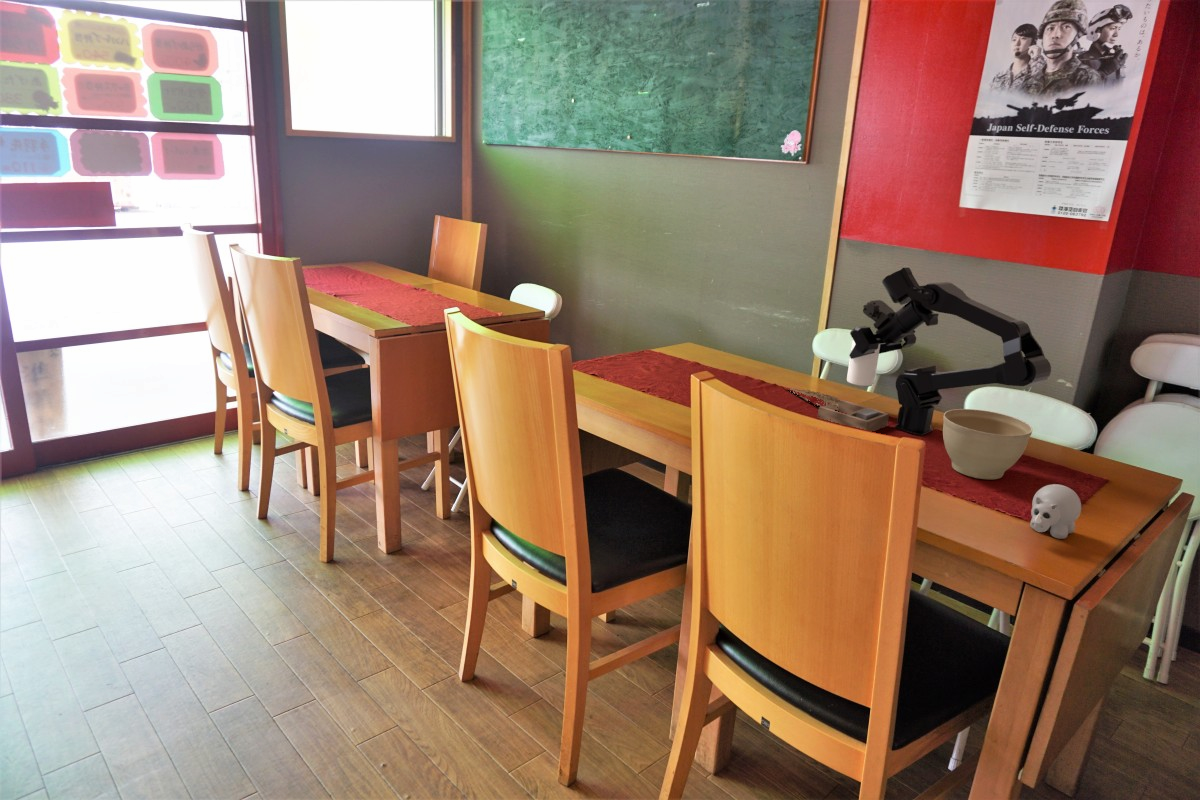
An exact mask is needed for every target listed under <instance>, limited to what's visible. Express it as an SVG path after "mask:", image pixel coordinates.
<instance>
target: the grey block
mask: <svg viewBox="0 0 1200 800" xmlns="http://www.w3.org/2000/svg"><path fill="white" fill-rule="evenodd" d="M872 409H873V408H871V409H867V410H863V411H860V412H857V414H856V417H857V418H861V419H864V420H869V419H872V418H875V417H877V416H879V412H878V411H879V410H878V411H875V410H876V409H875V410H872Z"/></svg>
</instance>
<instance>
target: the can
mask: <svg viewBox="0 0 1200 800" xmlns="http://www.w3.org/2000/svg"><path fill="white" fill-rule="evenodd" d="M855 345H856V343H855V342H854V340H853V339H852V343H851V349H850V352H851V351H852V350H853V348H854V346H855ZM879 350H880V344H879V345H878V349H877V350H875V351H874V352H875V353H873V354H869V355H865V356H861V357H857V358H853V359H851V358H850V357H849V360H848V362H849V363H848V367H847V368H848V369H847V375H846V381H847V383H849V384H850V385H853V386H857V387H864V388H865V387H872V386H873V385H874V384H875V379H876V374H877V367H878V361H879V355H880V354H879Z"/></svg>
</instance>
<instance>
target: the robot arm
mask: <svg viewBox="0 0 1200 800" xmlns="http://www.w3.org/2000/svg"><path fill="white" fill-rule="evenodd" d="M881 283H882V286H883V287H884V289H885V290H886V292H887V294H888V295H889V298H890V299H891V301H892V302H893V303H894V304H900V305H901V306H902V307H901V308H899V309H898V310H897V311H896V312H895V311H894V309H893V308H892V307H890V306H889V305H888V304H887V303H885V301H883V300H880V299H878V300H877V299H876V300H870V301H868V302H866V304H864V305H863V309H862V313H863V314H864V315H865V316H867V318H870V319H871V320H872V321H874V323H873V327H874V328H875V329H876V330H875V331H874V332H875V333H873V331H872V329H871V327H870V326H865V325H864V326H856V327H854V328H853V329H852V330H851V331H850V334H849V335H850V336H851V338H852V341H853V340H854V342H855V343H856V345H855V346H854V348H853V350H852V351H851V350H850V353H849V359H850V358H851V359H853V358H857V357H861V356H865V355H869V354H873V353H875V352H874V351H875V350H877V349H878V345H879V344H880V350H879V355H881V354H883V353H884V354H885V353H888V352H889V353H890V352H893V351H898V350H902V349H906V348H911V347H913V345H915V344H916V341H917V337H916V334H915V333H916V331H915V330H916V329H917V328H919V327H920V326H921V325H923V324H925V325H926V327H930V326H937V325H938V324H939V315H940V314H939V313H943V314H947V315H953V316H956V317H957V318H960V319H962V320H964V321H967V322H969V323H971V324H973V325H975V326H978V327H979V328H982V329H983V330H986V331H988V332H990V333H992V334H995V335H996V336H999V338H1001V341H1002V349H1003V350H1002V351H1003V360H1004V361H1003V362H1001V363H999V364H996V365H989V366H982V367H980V366H979V367H974V368H973V367H972V368H967V369H959V370H950V371H937V365H932V366H931V365H930V366H925V367H923V366H921V367H920V366H919V367H914V368H909V369H905V370H904V372H903V373H900V374H899V375H897V378H896V380H895V388H896V393H897V401H898V405H901V406H900V407H899V409H898V415H897V419H896V425H894V428H895V429H896V430H897V429H898V430H900V431H904V432H907V433H908V434H909V433H910V434H913V433H915V434H914V435H916V434H917V435H916V436H924V435H926V434H928V433H930V432H933V431H934V428H933V427H931V426H932V421H933V416H934V411H935V406H938V405H939V404H940V403H941V400H942V399H943V396H942V395H941V392H939V391H940V390H947V389H953V388H954V389H955V388H964V387H973V386H983V385H993V384H998V385H1004V386H1009V387H1010V386H1011V387H1025V386H1029V385H1030V386H1031V385H1033V384H1039V383H1043V382H1045V381H1046V380H1048V378H1049V377H1050V376H1051V372H1052V366H1051V363H1050V361H1049V360H1048V358H1047V357H1046V356H1045V353H1044V351H1043V348H1042V347H1041V345H1040V344H1039V342H1038V341H1037V340H1036V339H1035V336H1033V334H1032V331H1031V328H1030V326H1029V325H1028V323H1027V322H1026V321H1024V320H1021V319H1016V318H1015V317H1012V316H1009V315H1007V314H1005V313H1003V312H1000V311H999V310H997V309H994V308H992V307H990V306H987V305H986V304H983V303H982V302H981V303H980V302H978V301H976V300H974V299H972V298H970V297H969V296H967V294H966V293H965V292H964V290H962V289H961V288H959V287H958V286H957V285H955V284H953V283H951V282H949V281H942V282H940V281H939V282H931V283H927V284H925V285H920V284H919V283H918V281H917V280H916V277H915V276H914V274H913V271H912V269H911V268H910V267H908V266H907V267H902V268H901V269H900V270H897V271H895V272H893V273H891V274H888V275H886V276H885V277H884V278H883V279H882V280H881ZM903 341H904V343H903Z"/></svg>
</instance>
